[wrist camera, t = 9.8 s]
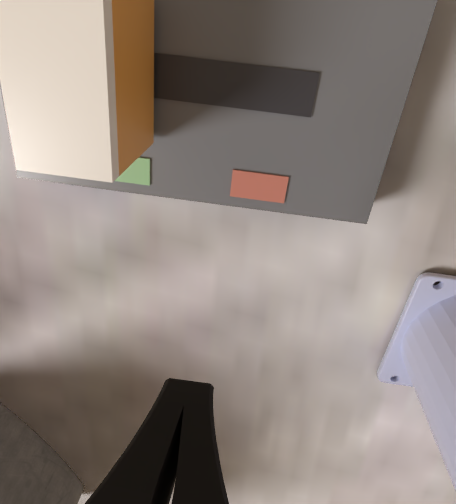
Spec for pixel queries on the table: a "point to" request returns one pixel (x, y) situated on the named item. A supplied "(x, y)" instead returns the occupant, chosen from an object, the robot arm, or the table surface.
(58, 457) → the hip flask
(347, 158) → the panel
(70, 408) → the table surface
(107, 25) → the knob
